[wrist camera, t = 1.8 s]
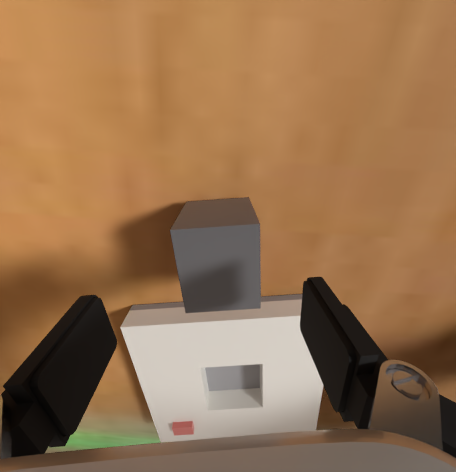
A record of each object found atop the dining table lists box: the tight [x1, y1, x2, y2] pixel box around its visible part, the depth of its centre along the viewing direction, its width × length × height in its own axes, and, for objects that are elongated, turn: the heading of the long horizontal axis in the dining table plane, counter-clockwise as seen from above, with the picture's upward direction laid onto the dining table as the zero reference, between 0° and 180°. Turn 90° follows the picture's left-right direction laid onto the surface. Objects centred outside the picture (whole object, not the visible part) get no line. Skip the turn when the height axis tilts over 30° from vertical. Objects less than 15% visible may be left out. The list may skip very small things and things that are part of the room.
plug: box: [170, 197, 261, 313], centre depth 17 cm, size 5×6×7 cm
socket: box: [120, 294, 323, 442], centre depth 26 cm, size 20×20×4 cm
